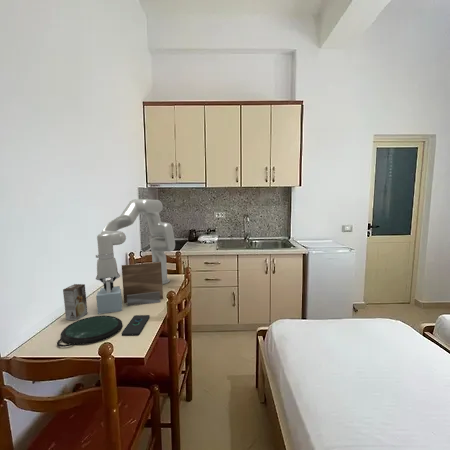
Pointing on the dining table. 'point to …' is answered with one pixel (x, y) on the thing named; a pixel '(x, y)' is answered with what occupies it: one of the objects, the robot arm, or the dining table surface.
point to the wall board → (142, 283)
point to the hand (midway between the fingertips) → (108, 289)
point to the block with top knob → (109, 299)
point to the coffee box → (75, 301)
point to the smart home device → (135, 325)
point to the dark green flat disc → (90, 330)
